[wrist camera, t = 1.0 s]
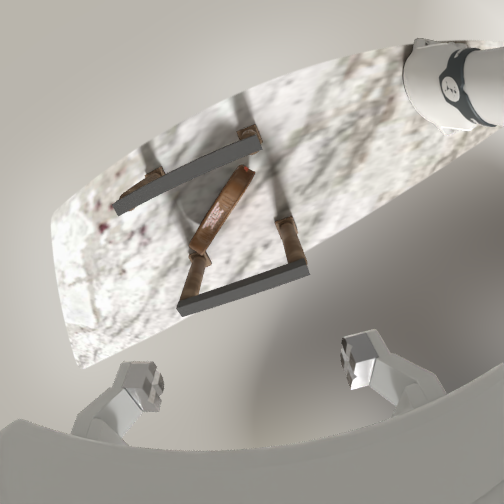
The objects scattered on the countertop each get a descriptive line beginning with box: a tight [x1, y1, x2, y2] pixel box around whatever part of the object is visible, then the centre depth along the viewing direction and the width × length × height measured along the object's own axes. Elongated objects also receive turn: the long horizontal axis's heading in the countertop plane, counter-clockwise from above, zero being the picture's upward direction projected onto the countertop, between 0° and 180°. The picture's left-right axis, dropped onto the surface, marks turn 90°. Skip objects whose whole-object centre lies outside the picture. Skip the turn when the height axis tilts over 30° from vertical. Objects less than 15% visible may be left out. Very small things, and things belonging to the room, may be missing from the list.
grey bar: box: [112, 134, 262, 216], centre depth 28 cm, size 18×2×2 cm, turn 112°
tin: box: [189, 165, 255, 255], centre depth 40 cm, size 15×3×8 cm, turn 146°
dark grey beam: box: [176, 258, 310, 317], centre depth 35 cm, size 18×2×2 cm, turn 112°
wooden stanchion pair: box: [119, 124, 307, 301], centre depth 38 cm, size 19×19×12 cm
